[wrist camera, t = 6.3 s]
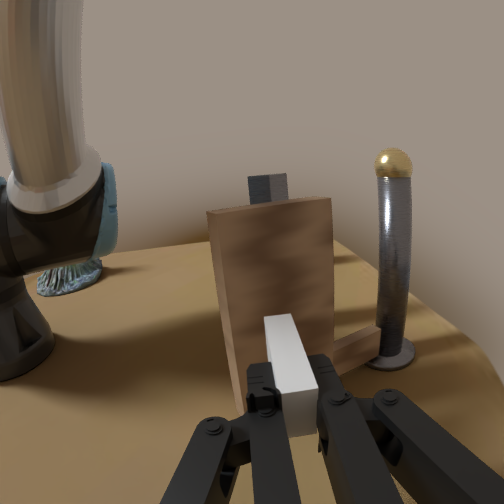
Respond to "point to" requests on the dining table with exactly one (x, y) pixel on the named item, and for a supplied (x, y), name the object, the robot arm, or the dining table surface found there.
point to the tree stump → (69, 278)
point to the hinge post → (393, 259)
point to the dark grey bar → (267, 188)
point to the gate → (279, 284)
